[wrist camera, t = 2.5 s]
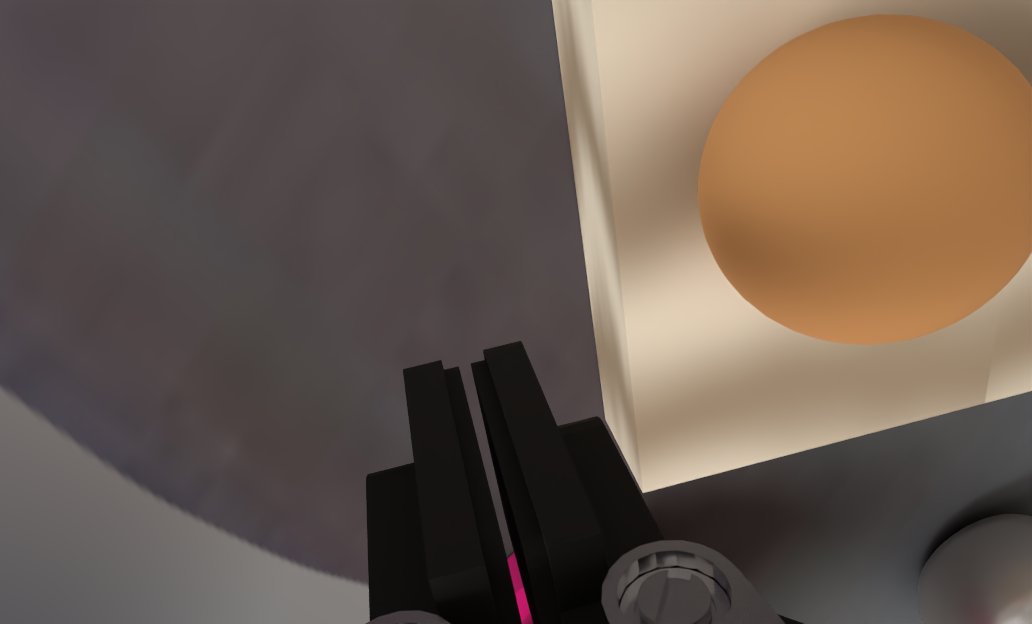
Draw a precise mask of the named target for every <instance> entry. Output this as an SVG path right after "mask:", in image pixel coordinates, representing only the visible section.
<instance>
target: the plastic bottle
mask: <svg viewBox="0 0 1032 624" xmlns="http://www.w3.org/2000/svg"><path fill="white" fill-rule="evenodd" d="M917 585H918V606H919V613H920V616H921V619H922V621H923V622H924V624H1032V516H1027V515H1021V514H1001V515H996V516H991V517H988V518H985V519H982V520H979V521H977V522H975V523H973V524H971V525H969V526H967V527H965V528H963V529H961V530H960V531H958V532H957V533H955V534H954V535H952V536H951V537H950V538H948V539H947V540H946V541H945V542H944V543H942V544H941V545H940V546H939V547H938V548H937V549H936V550H935V552H934V553H933V554H932V555H931V556H930V558H929V559H928V560H927V562H926V563H925V565H924V567H923V569H922V571H921V573H920V576H919V580H918V584H917Z"/></svg>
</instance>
